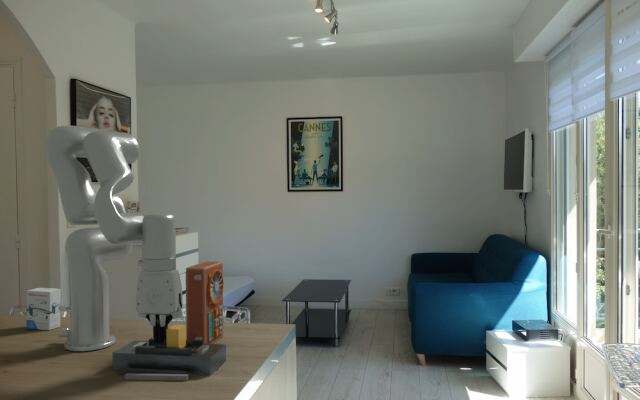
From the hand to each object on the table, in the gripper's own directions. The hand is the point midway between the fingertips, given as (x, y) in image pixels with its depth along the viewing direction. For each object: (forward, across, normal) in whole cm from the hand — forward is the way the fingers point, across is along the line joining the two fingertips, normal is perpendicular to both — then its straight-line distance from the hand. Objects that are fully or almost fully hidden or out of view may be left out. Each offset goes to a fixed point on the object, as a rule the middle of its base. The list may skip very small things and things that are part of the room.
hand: (160, 341), depth 121 cm
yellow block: (+1, +4, 0) cm, 4 cm away
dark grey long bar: (+6, +2, -7) cm, 9 cm away
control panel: (+6, +3, +19) cm, 20 cm away
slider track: (+6, +2, 0) cm, 6 cm away
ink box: (+5, -52, +26) cm, 58 cm away
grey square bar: (+6, +4, -9) cm, 11 cm away
